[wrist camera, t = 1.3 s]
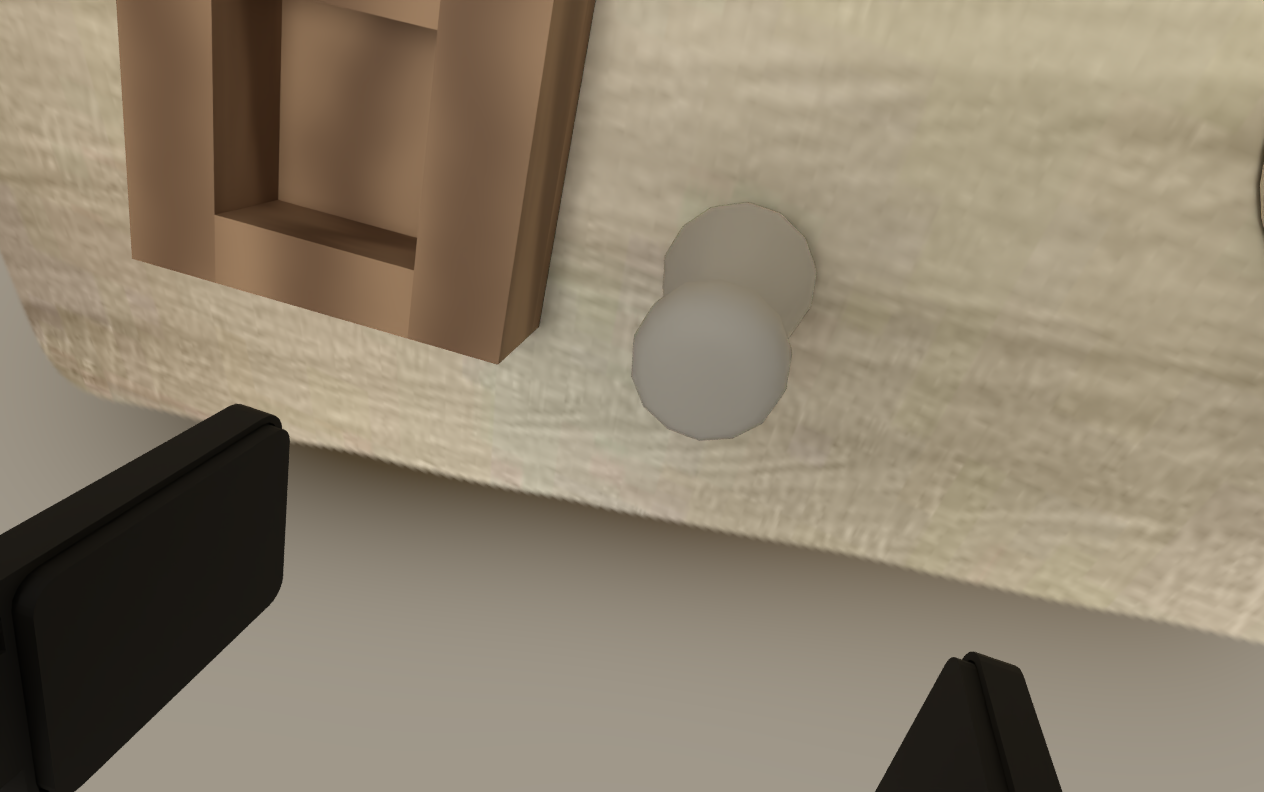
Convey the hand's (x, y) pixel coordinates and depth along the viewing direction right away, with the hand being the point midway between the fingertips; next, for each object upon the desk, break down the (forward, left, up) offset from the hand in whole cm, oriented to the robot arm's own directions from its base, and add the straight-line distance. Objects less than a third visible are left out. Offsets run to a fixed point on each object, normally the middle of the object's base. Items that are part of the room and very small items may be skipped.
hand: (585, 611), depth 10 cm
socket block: (+16, -2, -23) cm, 28 cm away
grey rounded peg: (0, 0, -23) cm, 23 cm away
